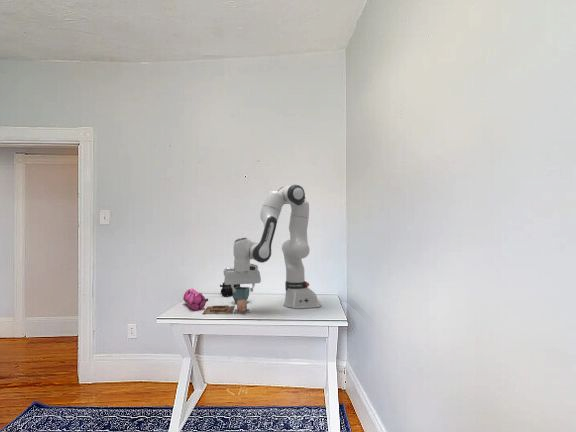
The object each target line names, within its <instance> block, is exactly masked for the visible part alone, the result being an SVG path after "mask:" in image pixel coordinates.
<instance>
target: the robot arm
mask: <svg viewBox="0 0 576 432" xmlns="http://www.w3.org/2000/svg"><path fill="white" fill-rule="evenodd" d="M284 205H290V209H291V212H290V217H289V225H288V231H289V237H290V238H289V239H287V240H286V241H284V242H283V243H282V244H281V251H282V254H283V257H284V258H283V259H284V264H285V265H284V266H285V282H284V284H285V285H284V286H285V297H284V302H283V306H284V307H287V308H293V309H295V310H296V309H309V308H312V309H313V308H320V307H321V306H322V303H321V301H320V300H318V296H317V294H316V293H315V292H314V291H313V290H312V289H311V288H309V286H310V283H309V282H307V281H305V267H304V264H303V261H302V260H303V259H306V258H307V257H308V256H309V255H310V251H311V249H310V245H309V243H308V226H309V220H310V219H309V218H310V203H309V202H308V201H307V200H306V193H305V189H304V188H303V186H301V185H298V184H290V185H286V186H282V187H280V188H279V189H278V190H271V191H269V192H268V194H267V196H266V197H265V199H264V202H263V204H262V207H261V209H260V214H259V217H260V219H261V221H262V223H263V230H262V234H261V237H260V241H259V242H255V241H252V240H251V239H249V238H247V237H241V238H238V239H235V241H234V243H233V258H234V260H233V267H226V268H224V269H223V276H224V282H223V283H225V285H231V287H232V289H233V293H236V289H234V287H233V286H234V285H236V284H240V285H250V284H251V285H252V287H250V290H249V293H253V292H254V288H255V285H256V284H260V283H261V282H262V278H261V272H260V271H259V267H258V266H259V265H257V264H254V263H251V260H254V261H256V262H257V263H260V264H261V263H263V264H264V263H266V262H268V261H269V260H270V258H271V256H272V244H273V240H274V236H275V232H276V229H277V224H278V221H279V218H280V215H281V212H282V209H283V207H284Z"/></svg>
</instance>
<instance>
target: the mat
mask: <svg viewBox="0 0 576 432" xmlns="http://www.w3.org/2000/svg"><path fill="white" fill-rule="evenodd" d="M249 312H250V308H247V311H246V312H237V308H234V310H233V314H234V315H235V314H249Z"/></svg>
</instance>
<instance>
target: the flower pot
mask: <svg viewBox="0 0 576 432" xmlns="http://www.w3.org/2000/svg"><path fill="white" fill-rule="evenodd" d="M250 288H251V287H248V286H240V287H235V288H234V289H236V293H233V289H232V293H233V296H232V298H233V301H234V302H235V304H237V300H239V299H246V300H247V301H248V300H249V297H250Z"/></svg>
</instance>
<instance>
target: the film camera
mask: <svg viewBox="0 0 576 432" xmlns="http://www.w3.org/2000/svg"><path fill="white" fill-rule="evenodd" d="M219 287H220V288H221V289H220V294H221V296H222V297H223V298H226V297H233V293H232V287H231V285H225V283H224V282H223V283H222V284H219ZM233 287H234V288H235V287H241V284H236V285H234V286H233Z"/></svg>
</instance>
